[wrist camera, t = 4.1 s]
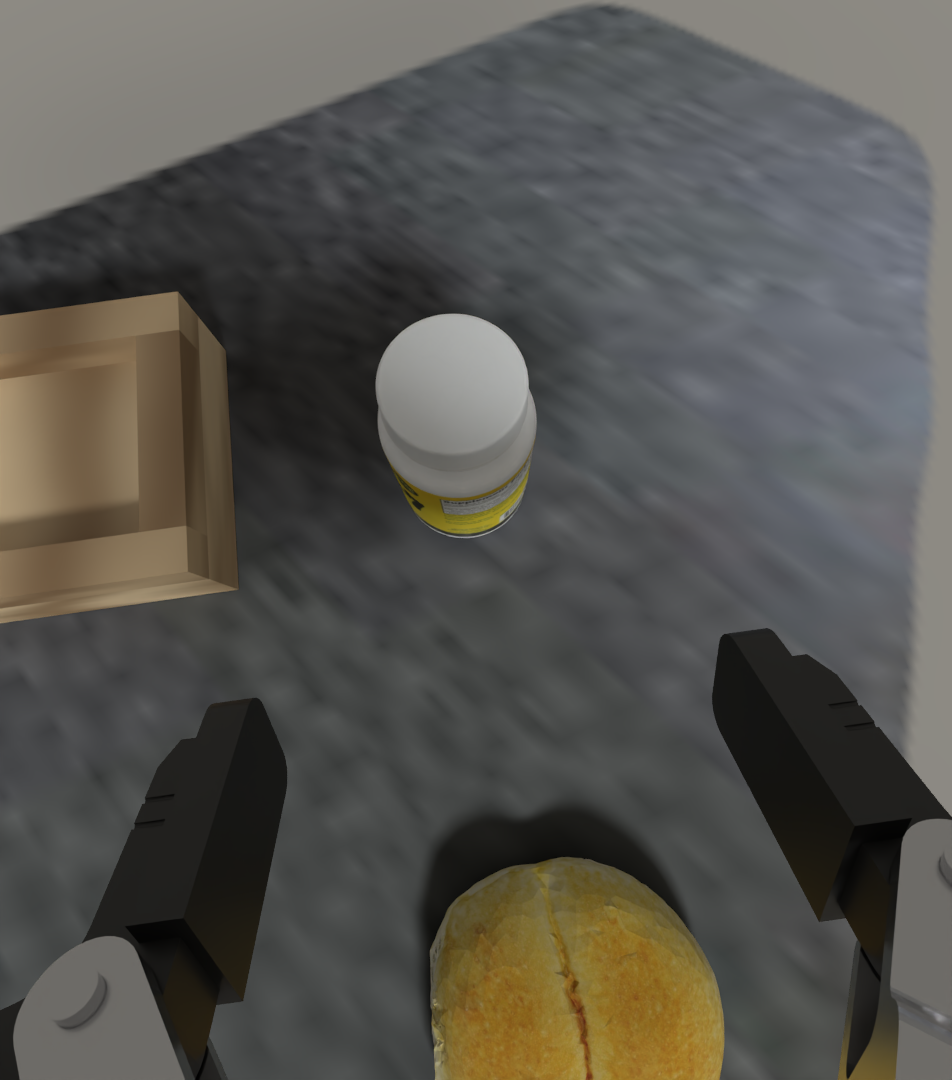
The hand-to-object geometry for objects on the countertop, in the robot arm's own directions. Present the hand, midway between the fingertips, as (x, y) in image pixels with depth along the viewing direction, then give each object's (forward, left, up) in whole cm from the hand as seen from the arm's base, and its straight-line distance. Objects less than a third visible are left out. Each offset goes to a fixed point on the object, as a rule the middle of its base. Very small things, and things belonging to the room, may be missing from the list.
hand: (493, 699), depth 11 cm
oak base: (-14, +10, -12) cm, 21 cm away
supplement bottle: (0, +8, -12) cm, 14 cm away
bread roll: (+1, -10, -12) cm, 16 cm away
